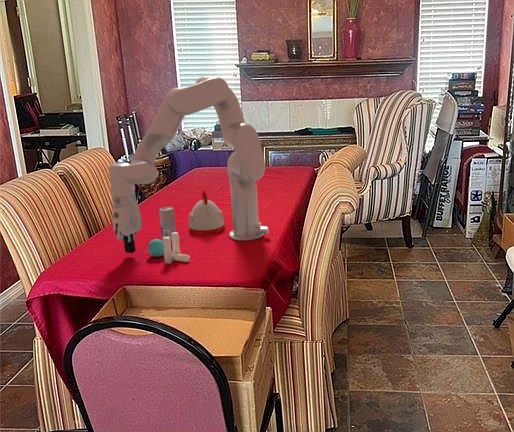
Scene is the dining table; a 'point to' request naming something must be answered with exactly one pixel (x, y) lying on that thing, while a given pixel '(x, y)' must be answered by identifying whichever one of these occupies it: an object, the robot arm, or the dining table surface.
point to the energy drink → (167, 221)
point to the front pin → (180, 257)
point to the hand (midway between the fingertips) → (130, 251)
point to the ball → (156, 247)
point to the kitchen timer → (205, 217)
